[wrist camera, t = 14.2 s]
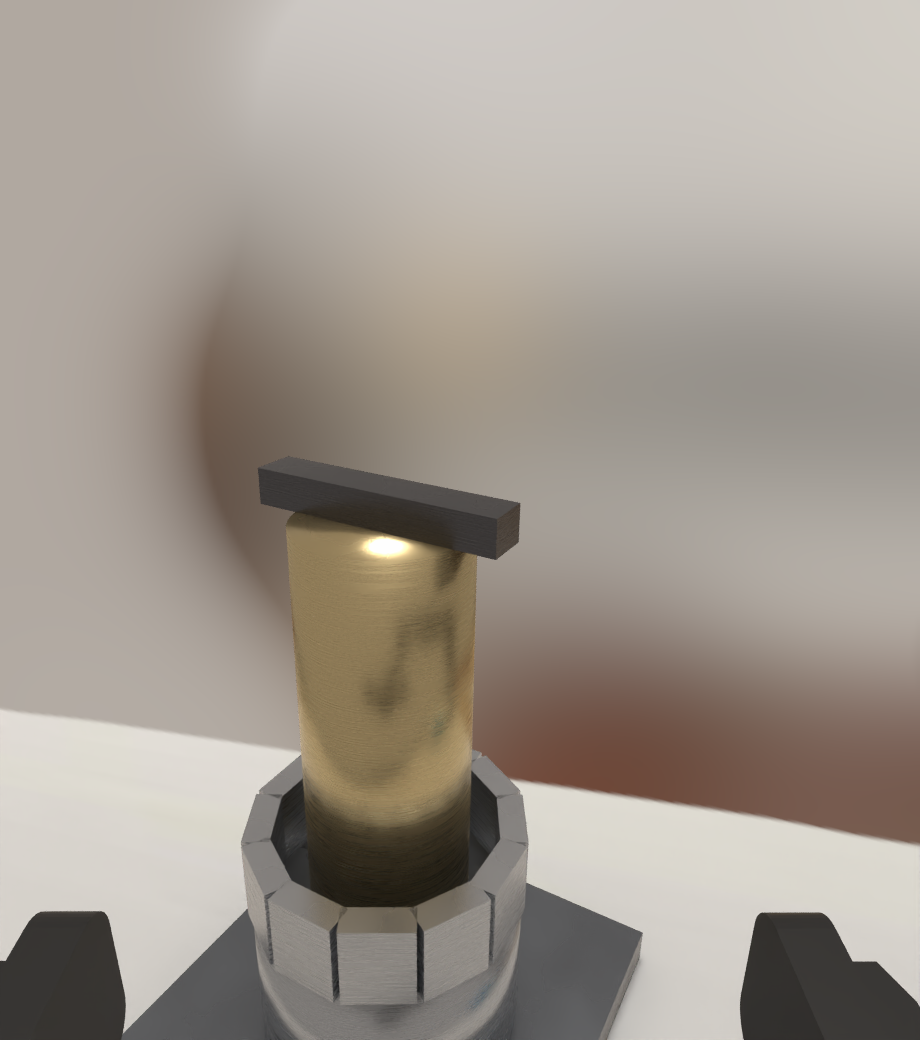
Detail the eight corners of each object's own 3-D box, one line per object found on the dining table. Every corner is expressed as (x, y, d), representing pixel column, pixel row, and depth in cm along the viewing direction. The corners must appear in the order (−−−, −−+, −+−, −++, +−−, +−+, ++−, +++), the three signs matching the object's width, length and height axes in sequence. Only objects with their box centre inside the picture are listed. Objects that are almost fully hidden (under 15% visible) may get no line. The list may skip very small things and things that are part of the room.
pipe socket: (349, 828, 35) (342, 659, 32) (639, 957, 30) (664, 766, 26) (96, 1093, 25) (49, 879, 22) (469, 1374, 19) (478, 1138, 16)
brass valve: (345, 799, 28) (329, 440, 24) (526, 876, 25) (550, 482, 20) (249, 893, 24) (206, 487, 20) (450, 999, 21) (457, 546, 17)
